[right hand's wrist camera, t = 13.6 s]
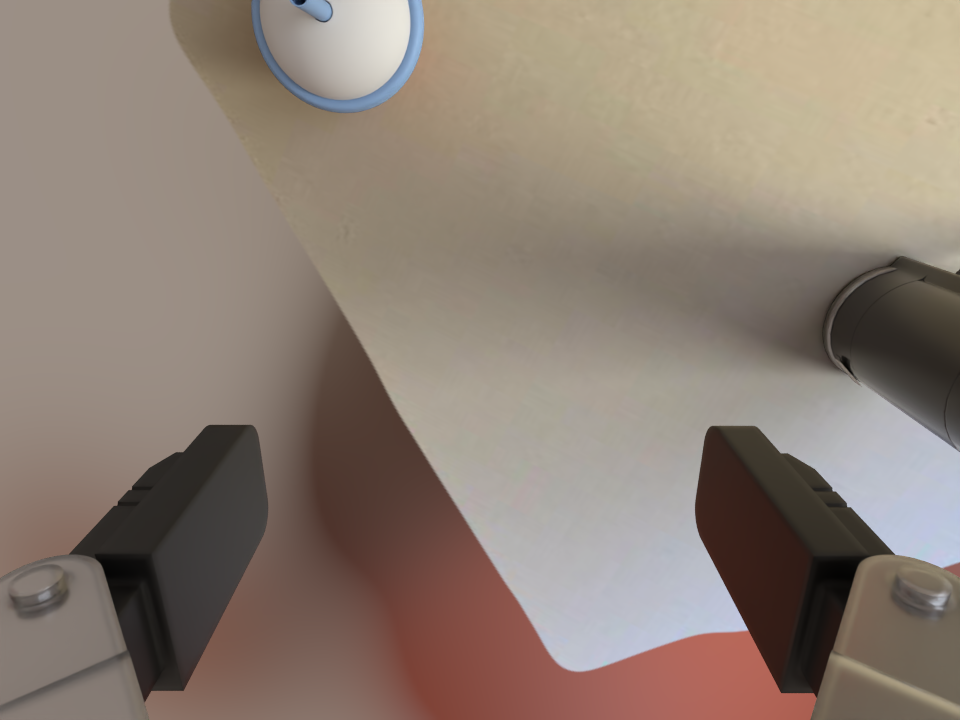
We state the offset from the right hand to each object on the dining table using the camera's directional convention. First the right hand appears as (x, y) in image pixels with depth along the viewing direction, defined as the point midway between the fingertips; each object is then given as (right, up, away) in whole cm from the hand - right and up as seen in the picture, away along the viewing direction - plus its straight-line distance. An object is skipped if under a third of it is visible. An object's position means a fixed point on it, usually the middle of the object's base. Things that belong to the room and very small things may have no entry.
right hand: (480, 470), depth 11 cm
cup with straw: (-8, +24, +32) cm, 40 cm away
